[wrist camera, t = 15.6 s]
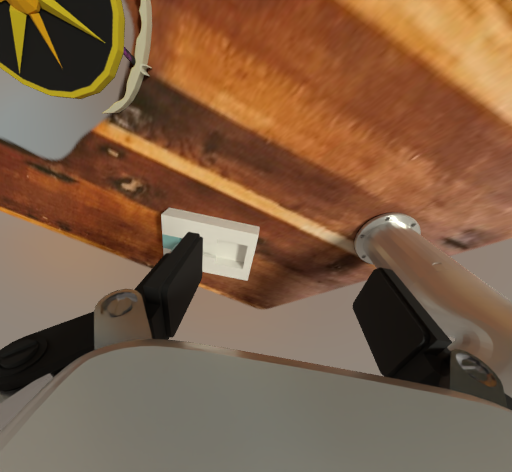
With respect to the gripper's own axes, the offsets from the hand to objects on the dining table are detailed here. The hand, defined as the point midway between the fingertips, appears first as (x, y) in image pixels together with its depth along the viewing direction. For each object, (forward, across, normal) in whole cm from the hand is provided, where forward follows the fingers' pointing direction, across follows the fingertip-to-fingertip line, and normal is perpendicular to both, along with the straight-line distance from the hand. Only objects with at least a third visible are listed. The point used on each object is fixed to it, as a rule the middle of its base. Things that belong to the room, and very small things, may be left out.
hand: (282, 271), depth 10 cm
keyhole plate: (+29, +11, +19) cm, 36 cm away
